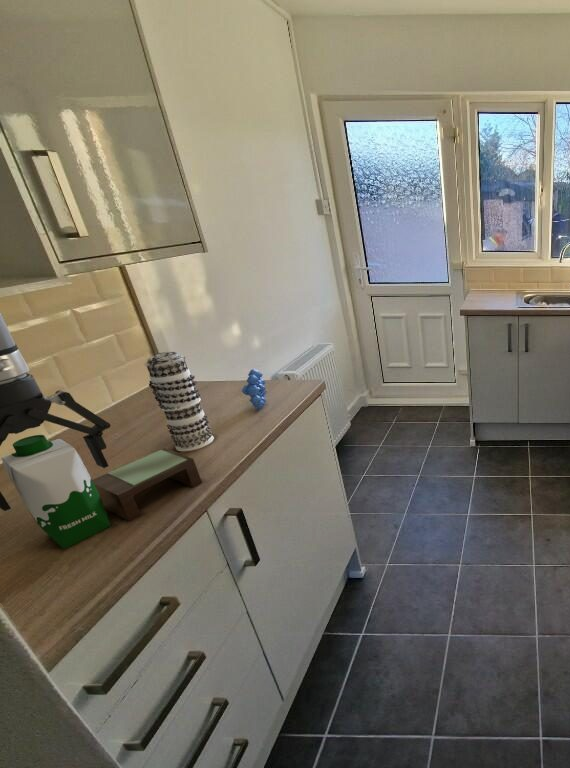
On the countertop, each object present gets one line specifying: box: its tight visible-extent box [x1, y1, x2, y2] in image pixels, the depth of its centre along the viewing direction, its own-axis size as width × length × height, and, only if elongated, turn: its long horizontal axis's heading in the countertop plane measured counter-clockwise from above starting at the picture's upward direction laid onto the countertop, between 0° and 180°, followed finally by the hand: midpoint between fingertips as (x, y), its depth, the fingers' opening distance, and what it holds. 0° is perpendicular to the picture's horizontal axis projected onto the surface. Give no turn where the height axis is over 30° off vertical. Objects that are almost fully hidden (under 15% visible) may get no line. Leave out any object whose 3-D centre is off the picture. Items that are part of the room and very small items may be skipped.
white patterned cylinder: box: [143, 351, 215, 452], centre depth 106 cm, size 9×9×25 cm
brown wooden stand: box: [92, 447, 203, 522], centre depth 90 cm, size 11×14×7 cm
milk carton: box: [0, 434, 112, 550], centre depth 77 cm, size 9×9×20 cm
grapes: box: [241, 368, 268, 410], centre depth 129 cm, size 12×7×12 cm, turn 19°
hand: (57, 485), depth 77 cm, fingers open, 13 cm apart
